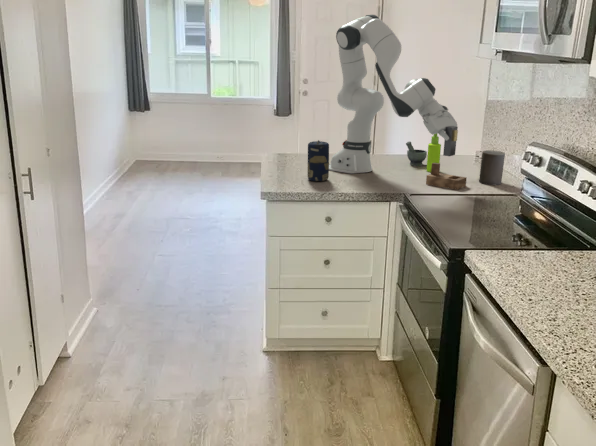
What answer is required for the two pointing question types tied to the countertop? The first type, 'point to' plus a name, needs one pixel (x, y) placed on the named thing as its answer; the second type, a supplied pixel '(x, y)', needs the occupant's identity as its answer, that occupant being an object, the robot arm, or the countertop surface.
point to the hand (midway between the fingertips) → (451, 138)
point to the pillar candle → (491, 167)
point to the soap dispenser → (433, 152)
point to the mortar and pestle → (415, 155)
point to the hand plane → (444, 179)
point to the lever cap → (450, 141)
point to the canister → (318, 161)
